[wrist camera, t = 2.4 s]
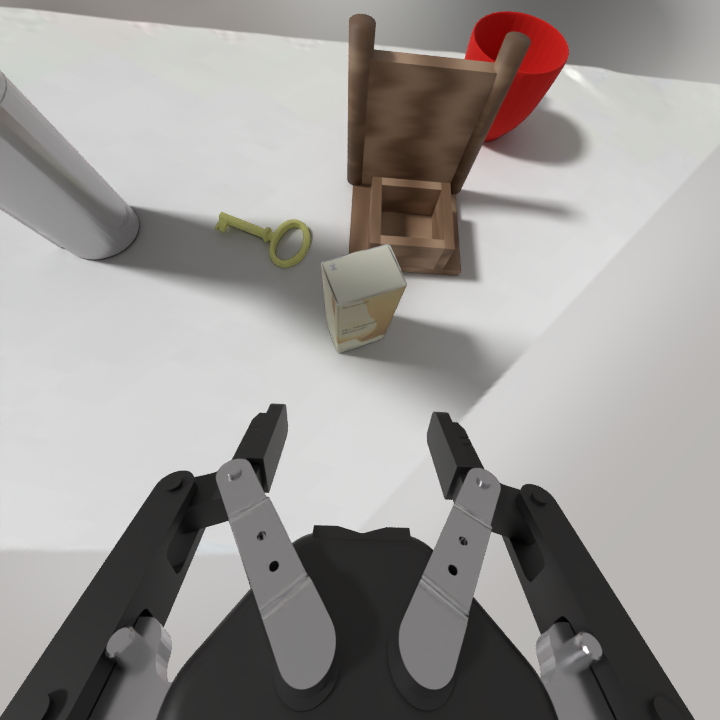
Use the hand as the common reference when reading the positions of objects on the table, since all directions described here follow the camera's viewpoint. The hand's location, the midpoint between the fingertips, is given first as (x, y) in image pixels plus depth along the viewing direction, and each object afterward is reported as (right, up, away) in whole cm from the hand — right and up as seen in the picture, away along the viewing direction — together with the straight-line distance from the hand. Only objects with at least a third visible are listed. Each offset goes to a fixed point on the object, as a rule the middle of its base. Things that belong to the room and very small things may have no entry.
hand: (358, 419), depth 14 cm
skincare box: (0, +7, +18) cm, 20 cm away
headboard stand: (+6, +23, +23) cm, 33 cm away
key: (-12, +20, +22) cm, 32 cm away
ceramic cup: (+21, +44, +30) cm, 58 cm away
